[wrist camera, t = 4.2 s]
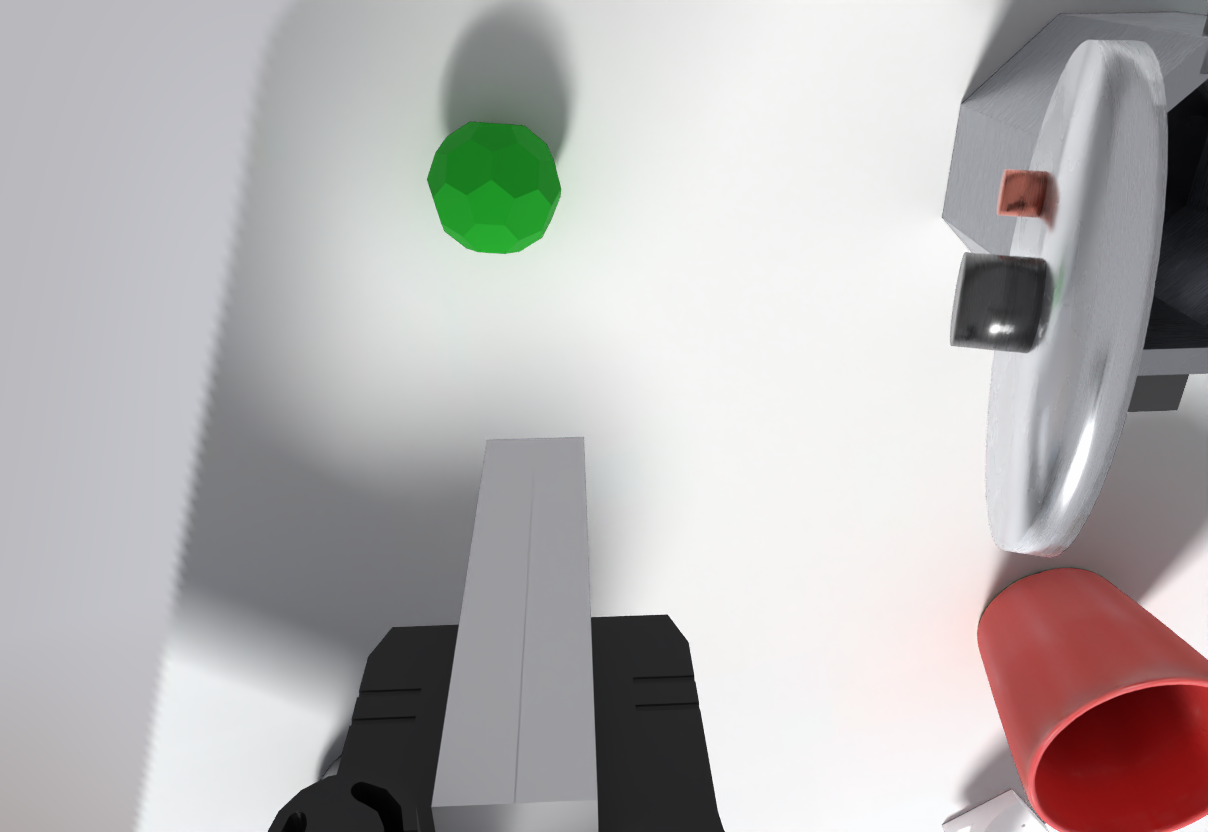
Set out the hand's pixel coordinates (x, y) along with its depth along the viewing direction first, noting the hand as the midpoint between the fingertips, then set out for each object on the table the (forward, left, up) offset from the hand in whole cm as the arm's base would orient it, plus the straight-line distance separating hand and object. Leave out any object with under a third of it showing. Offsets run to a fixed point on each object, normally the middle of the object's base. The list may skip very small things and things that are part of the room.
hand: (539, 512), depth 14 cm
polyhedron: (-2, 0, -25) cm, 25 cm away
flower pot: (+26, -25, -25) cm, 44 cm away
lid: (+14, 0, -9) cm, 16 cm away
